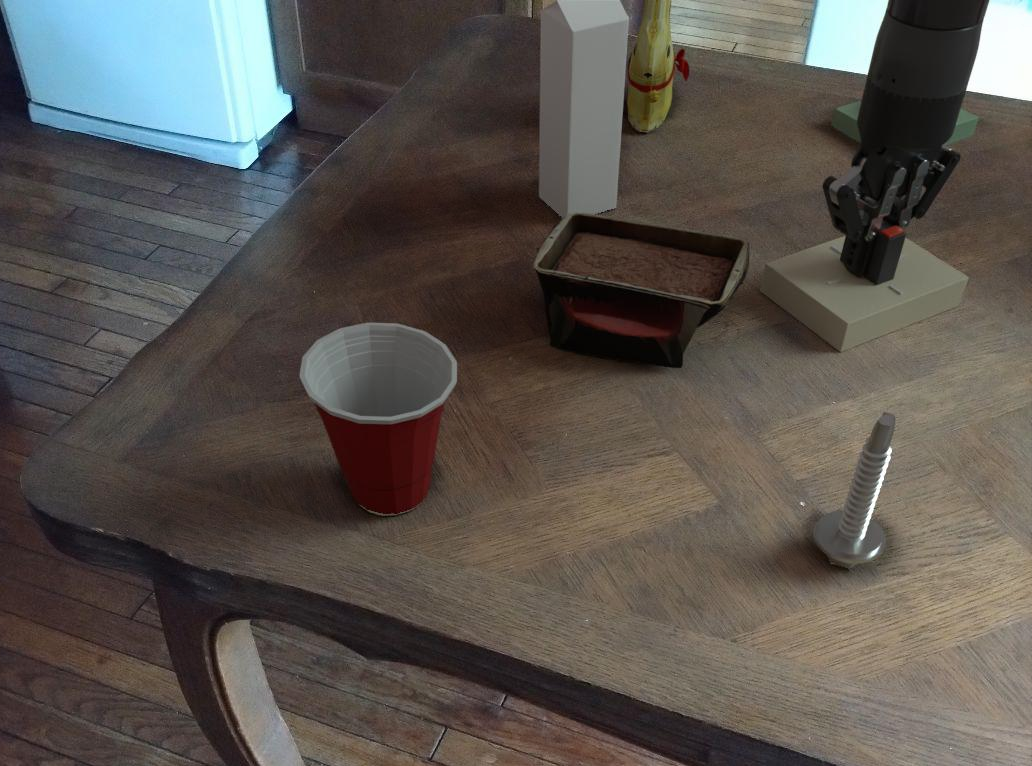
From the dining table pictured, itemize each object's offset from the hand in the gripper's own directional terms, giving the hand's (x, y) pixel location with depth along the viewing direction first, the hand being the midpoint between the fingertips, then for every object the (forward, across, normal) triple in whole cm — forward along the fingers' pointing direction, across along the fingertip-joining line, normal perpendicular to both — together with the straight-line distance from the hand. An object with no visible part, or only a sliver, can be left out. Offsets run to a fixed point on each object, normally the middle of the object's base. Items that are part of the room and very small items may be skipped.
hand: (867, 267), depth 95 cm
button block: (+3, +27, +23) cm, 36 cm away
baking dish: (+3, -20, +7) cm, 21 cm away
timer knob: (0, 0, 0) cm, 0 cm away
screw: (+3, -23, -24) cm, 33 cm away
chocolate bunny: (+3, +5, +40) cm, 40 cm away
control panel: (+3, 0, 0) cm, 3 cm away
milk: (+3, -13, +28) cm, 31 cm away
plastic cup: (+3, -48, -2) cm, 48 cm away
